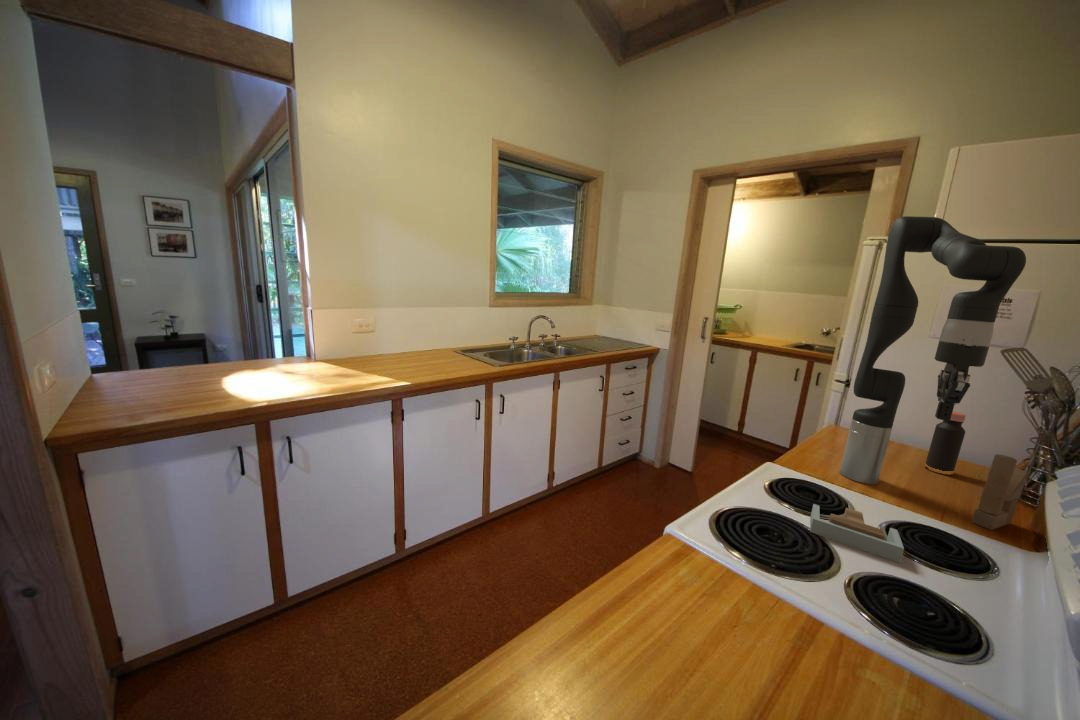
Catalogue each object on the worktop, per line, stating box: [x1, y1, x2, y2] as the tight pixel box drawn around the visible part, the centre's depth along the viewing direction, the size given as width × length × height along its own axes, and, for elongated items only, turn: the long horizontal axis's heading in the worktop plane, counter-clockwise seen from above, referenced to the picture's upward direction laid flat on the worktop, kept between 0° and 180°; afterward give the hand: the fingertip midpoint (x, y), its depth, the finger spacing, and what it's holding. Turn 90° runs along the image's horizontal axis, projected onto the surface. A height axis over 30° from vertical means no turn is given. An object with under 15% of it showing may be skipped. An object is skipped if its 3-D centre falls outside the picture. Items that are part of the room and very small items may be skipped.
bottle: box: [925, 411, 967, 472], centre depth 130 cm, size 7×7×20 cm
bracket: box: [809, 503, 905, 564], centre depth 88 cm, size 8×15×3 cm, turn 55°
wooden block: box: [971, 453, 1029, 531], centre depth 99 cm, size 4×11×18 cm, turn 113°
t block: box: [828, 507, 885, 540], centre depth 89 cm, size 9×9×4 cm
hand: (942, 419), depth 89 cm, fingers closed
